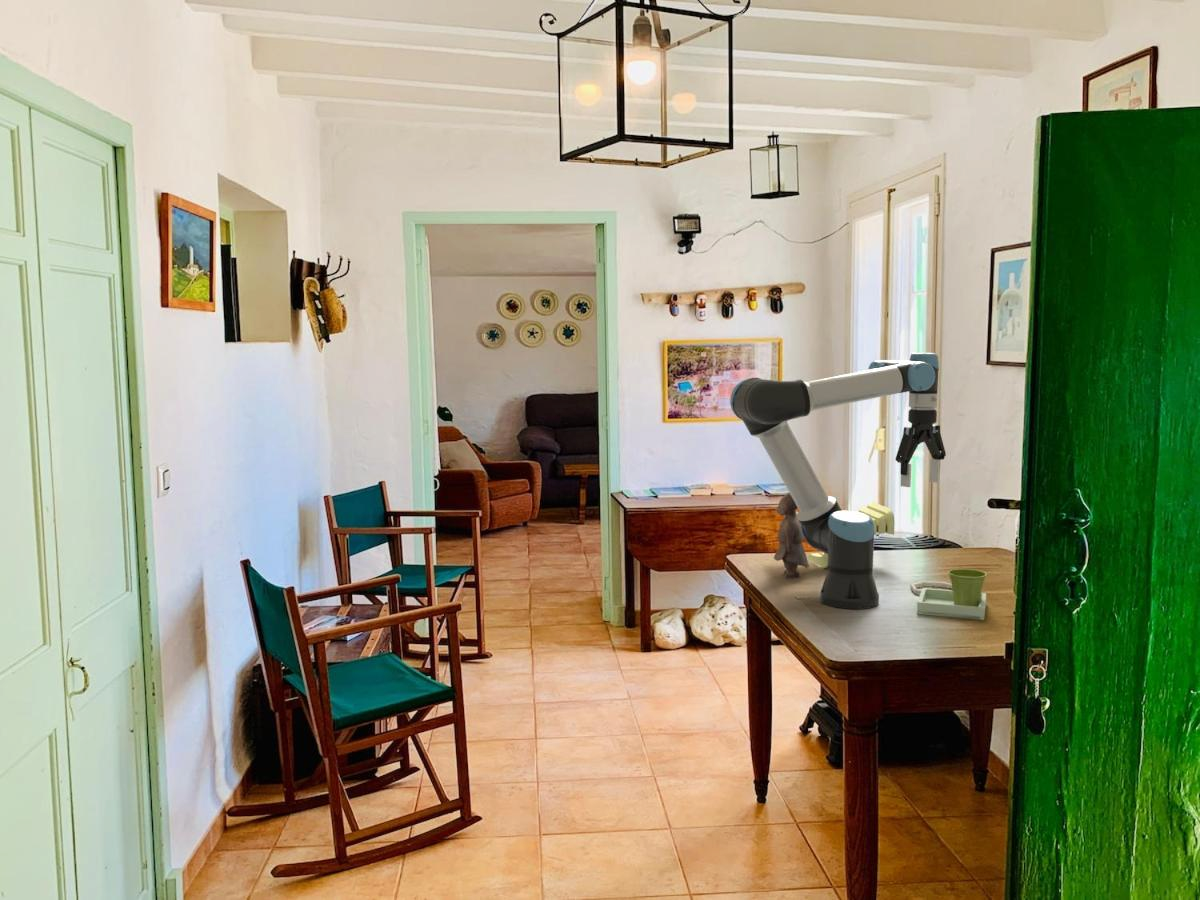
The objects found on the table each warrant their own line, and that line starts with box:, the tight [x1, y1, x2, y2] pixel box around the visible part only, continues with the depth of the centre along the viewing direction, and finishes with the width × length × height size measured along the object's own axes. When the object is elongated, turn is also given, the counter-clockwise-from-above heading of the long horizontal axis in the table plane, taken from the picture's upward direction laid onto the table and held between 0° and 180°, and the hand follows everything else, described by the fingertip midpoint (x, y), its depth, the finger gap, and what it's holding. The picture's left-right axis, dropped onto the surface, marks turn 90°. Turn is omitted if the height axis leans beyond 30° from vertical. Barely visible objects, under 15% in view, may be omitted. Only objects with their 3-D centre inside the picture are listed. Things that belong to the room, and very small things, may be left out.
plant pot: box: [947, 568, 988, 607], centre depth 266 cm, size 9×9×9 cm
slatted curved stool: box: [796, 501, 895, 569], centre depth 318 cm, size 30×16×18 cm, turn 99°
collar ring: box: [910, 581, 952, 596], centre depth 284 cm, size 14×14×1 cm
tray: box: [916, 587, 987, 621], centre depth 266 cm, size 16×16×3 cm
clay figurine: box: [773, 492, 809, 579], centre depth 301 cm, size 13×10×25 cm
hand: (920, 484), depth 289 cm, fingers open, 13 cm apart
